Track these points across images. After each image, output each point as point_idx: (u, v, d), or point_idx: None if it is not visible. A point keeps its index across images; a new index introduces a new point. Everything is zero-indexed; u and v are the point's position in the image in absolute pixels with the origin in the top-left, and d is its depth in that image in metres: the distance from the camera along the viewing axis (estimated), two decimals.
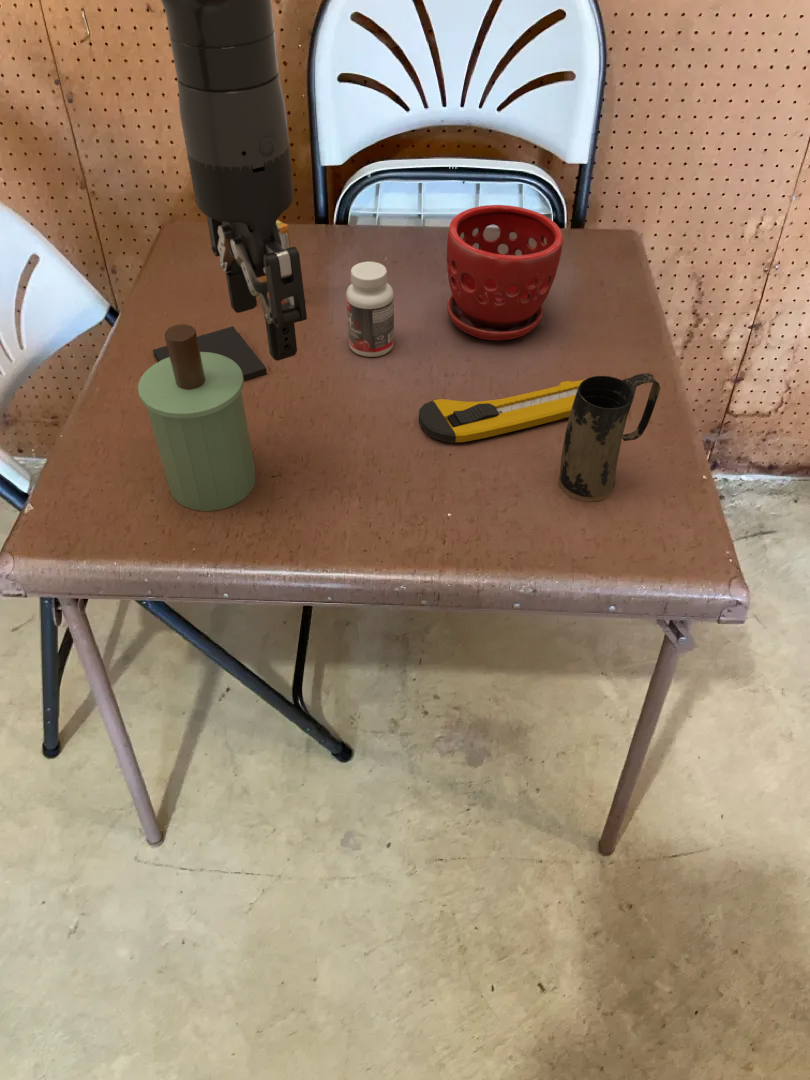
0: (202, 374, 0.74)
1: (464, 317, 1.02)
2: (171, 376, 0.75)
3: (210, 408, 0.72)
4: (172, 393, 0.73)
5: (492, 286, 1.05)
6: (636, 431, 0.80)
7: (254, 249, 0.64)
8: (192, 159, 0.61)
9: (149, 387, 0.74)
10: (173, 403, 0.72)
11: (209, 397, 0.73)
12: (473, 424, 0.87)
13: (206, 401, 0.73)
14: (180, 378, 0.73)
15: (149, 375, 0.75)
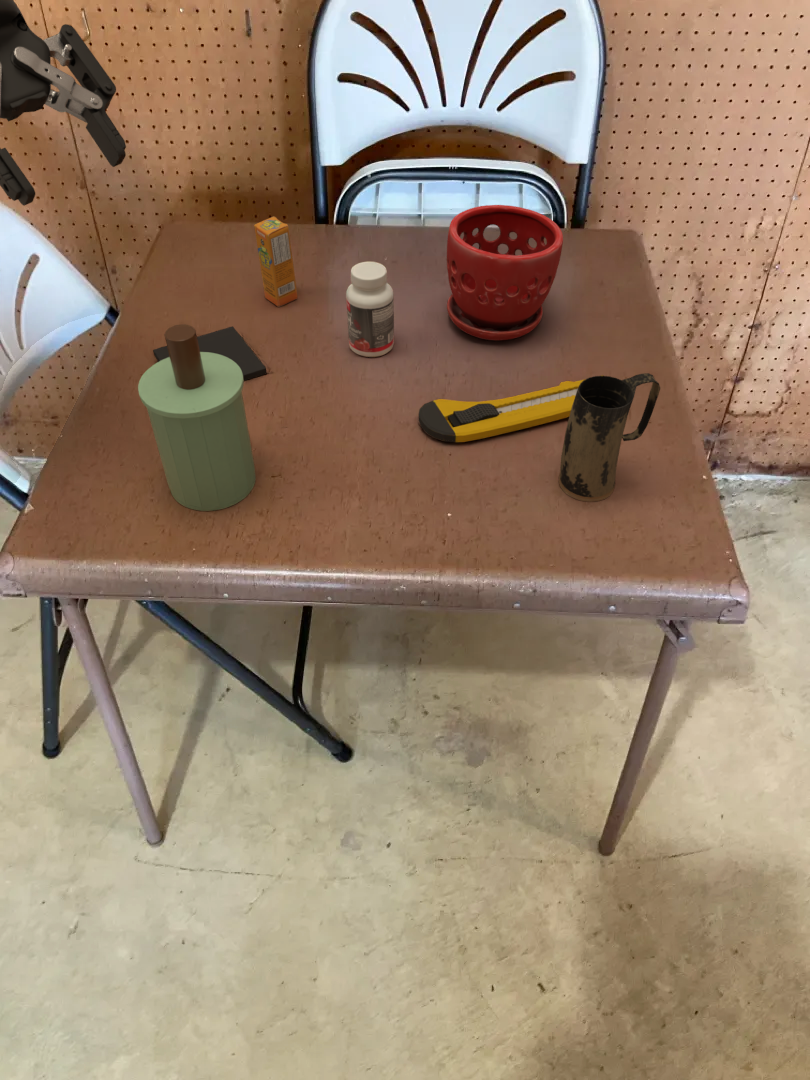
0: (202, 374, 0.74)
1: (464, 317, 1.02)
2: (171, 376, 0.75)
3: (210, 408, 0.72)
4: (172, 393, 0.73)
5: (492, 286, 1.05)
6: (636, 431, 0.80)
7: (41, 44, 0.66)
8: None
9: (149, 387, 0.74)
10: (173, 403, 0.72)
11: (209, 397, 0.73)
12: (473, 424, 0.87)
13: (206, 401, 0.73)
14: (180, 378, 0.73)
15: (149, 375, 0.75)
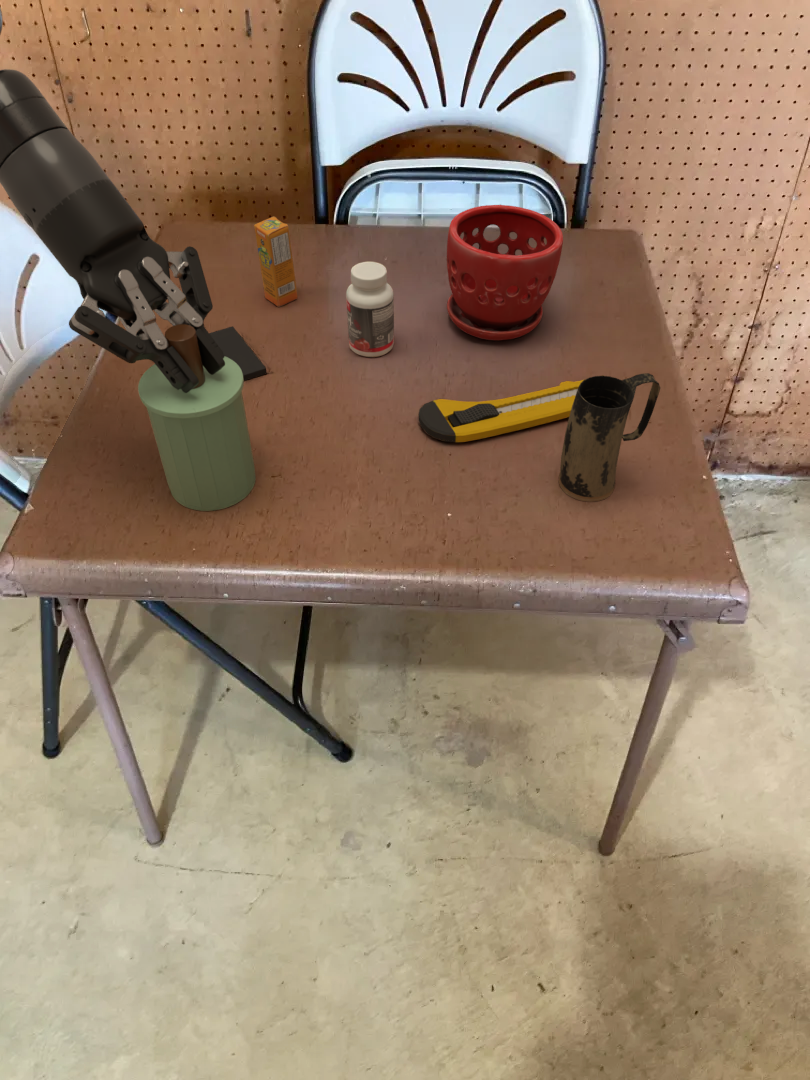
0: (202, 374, 0.74)
1: (464, 317, 1.02)
2: None
3: (210, 408, 0.72)
4: (172, 393, 0.73)
5: (492, 286, 1.05)
6: (636, 431, 0.80)
7: (161, 250, 0.72)
8: (93, 183, 0.66)
9: (149, 387, 0.74)
10: (173, 403, 0.72)
11: (209, 397, 0.73)
12: (473, 424, 0.87)
13: (206, 401, 0.73)
14: None
15: (149, 375, 0.75)
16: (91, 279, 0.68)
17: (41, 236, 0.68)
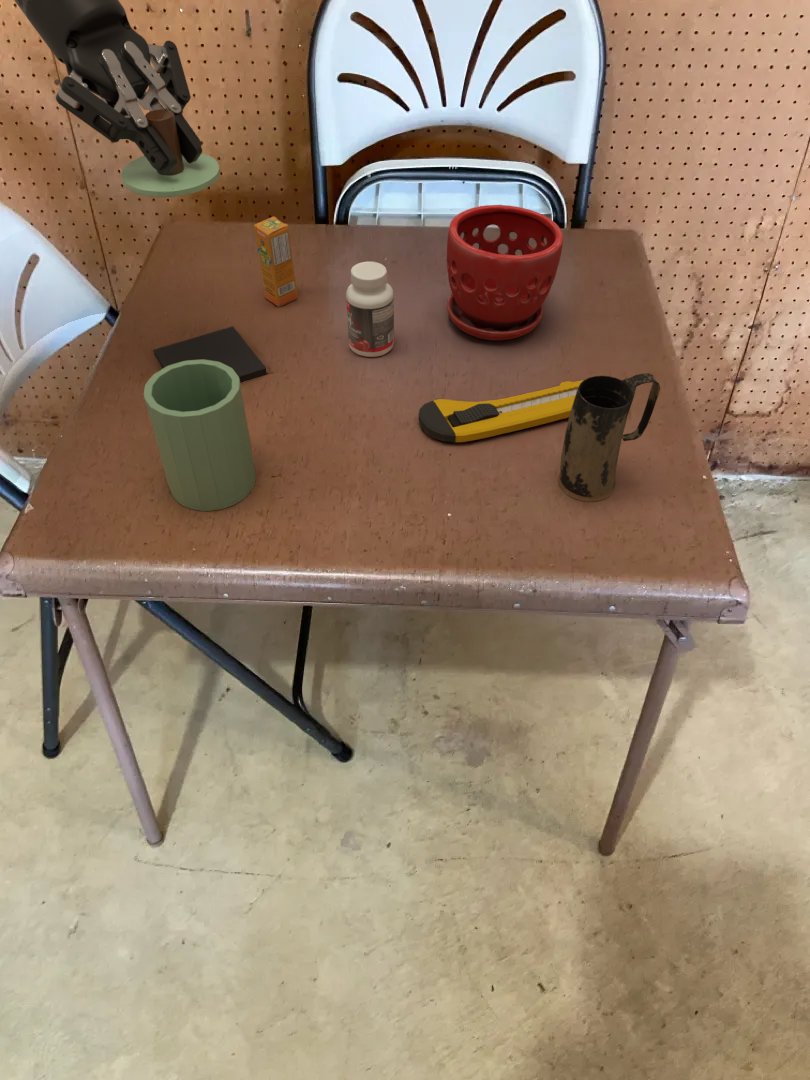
0: (181, 161, 0.79)
1: (464, 317, 1.02)
2: None
3: (188, 188, 0.78)
4: (153, 178, 0.79)
5: (492, 286, 1.05)
6: (636, 431, 0.80)
7: (142, 40, 0.77)
8: None
9: (132, 174, 0.79)
10: (153, 184, 0.78)
11: (187, 180, 0.79)
12: (473, 424, 0.87)
13: (184, 183, 0.78)
14: None
15: (132, 165, 0.81)
16: (76, 55, 0.73)
17: (30, 15, 0.73)
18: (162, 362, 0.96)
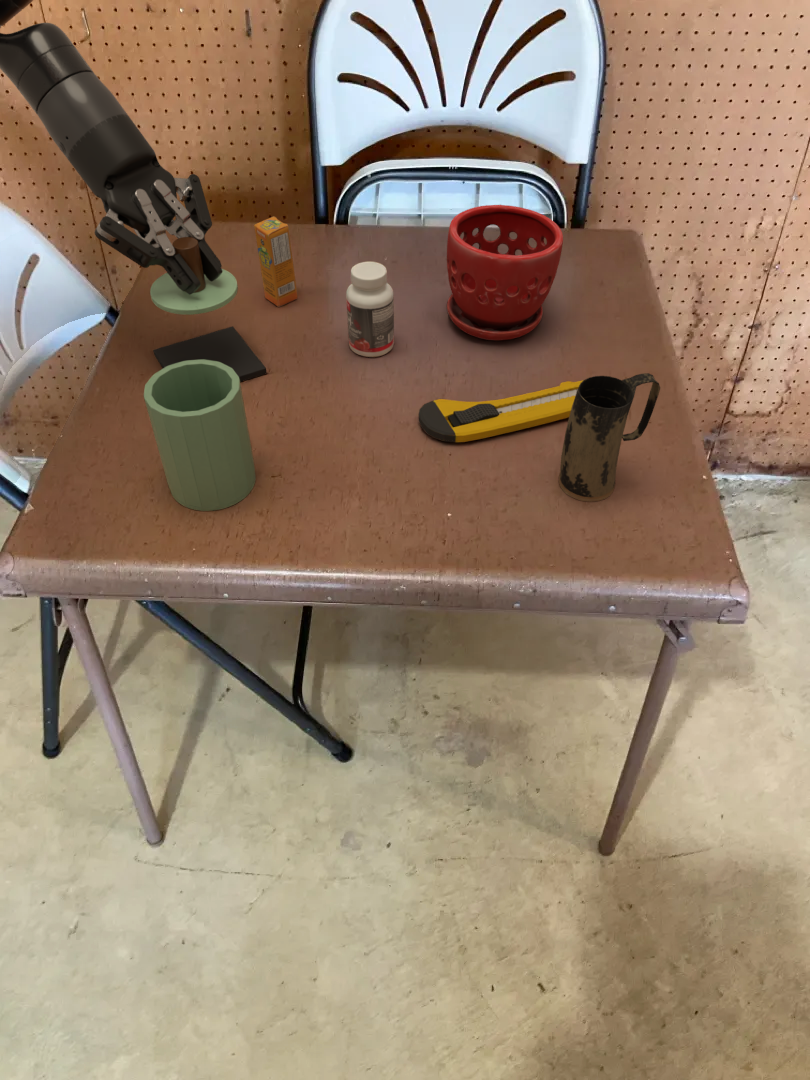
0: (203, 280, 0.89)
1: (464, 317, 1.02)
2: None
3: (210, 306, 0.87)
4: (178, 295, 0.89)
5: (492, 286, 1.05)
6: (636, 431, 0.80)
7: (169, 176, 0.87)
8: (114, 116, 0.82)
9: (160, 291, 0.89)
10: (179, 302, 0.88)
11: (209, 298, 0.88)
12: (473, 424, 0.87)
13: (206, 301, 0.88)
14: None
15: (159, 282, 0.91)
16: (113, 195, 0.83)
17: (72, 160, 0.83)
18: (162, 362, 0.96)
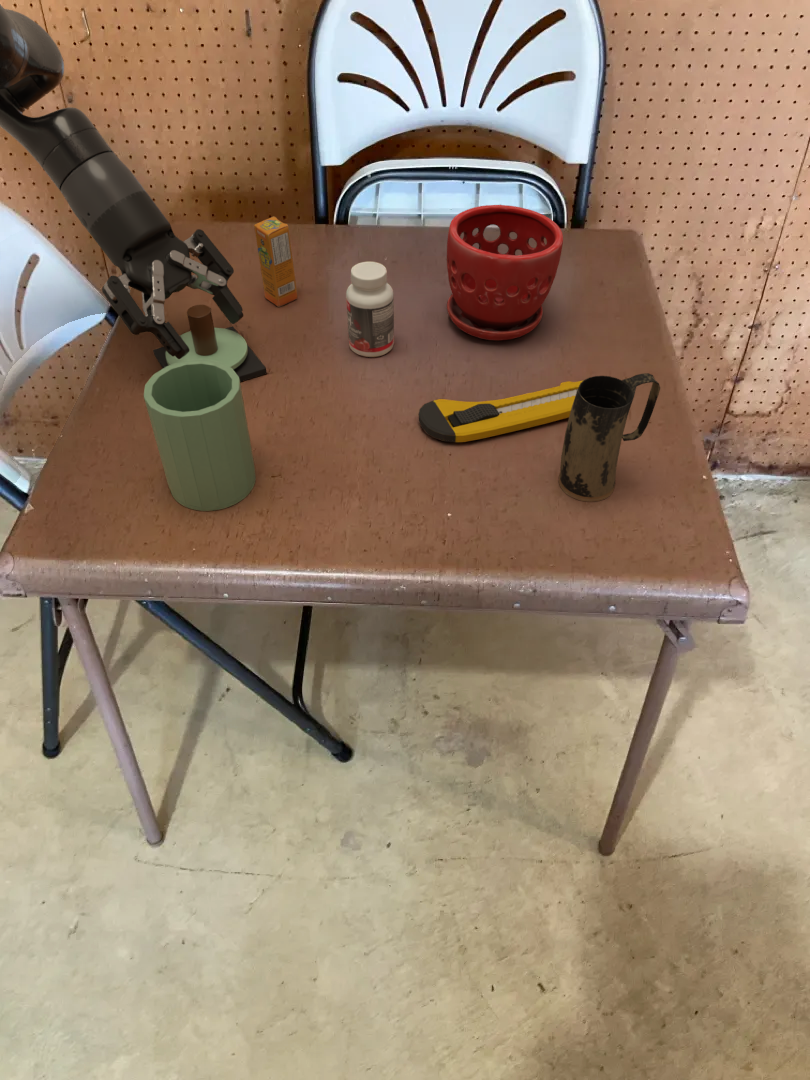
0: (215, 344, 0.95)
1: (464, 317, 1.02)
2: (191, 346, 0.96)
3: None
4: (192, 358, 0.95)
5: (492, 286, 1.05)
6: (636, 431, 0.80)
7: (183, 245, 0.93)
8: (133, 194, 0.87)
9: None
10: None
11: (221, 361, 0.94)
12: (473, 424, 0.87)
13: None
14: (198, 347, 0.94)
15: None
16: (133, 264, 0.89)
17: (93, 234, 0.89)
18: (162, 362, 0.96)
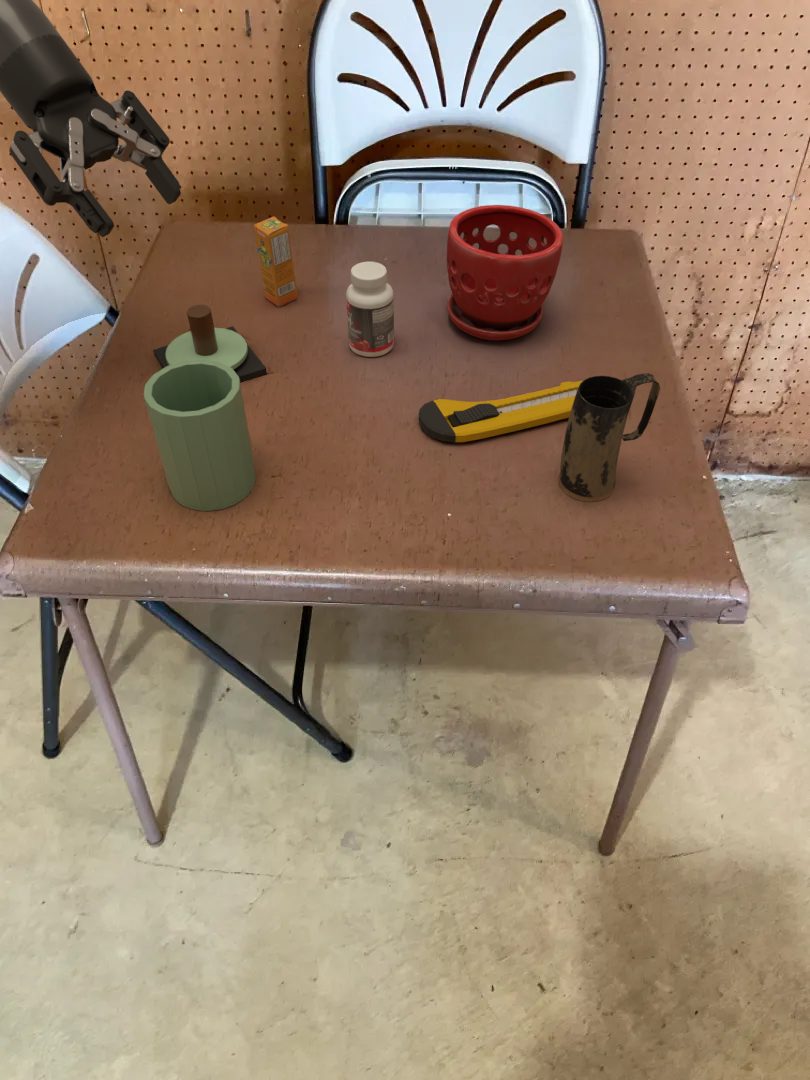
0: (215, 344, 0.95)
1: (464, 317, 1.02)
2: (191, 346, 0.96)
3: None
4: (192, 358, 0.95)
5: (492, 286, 1.05)
6: (636, 431, 0.80)
7: (109, 106, 0.80)
8: (45, 36, 0.74)
9: (174, 354, 0.95)
10: None
11: (221, 361, 0.94)
12: (473, 424, 0.87)
13: None
14: (198, 347, 0.94)
15: (174, 345, 0.96)
16: (46, 121, 0.76)
17: None
18: (162, 362, 0.96)
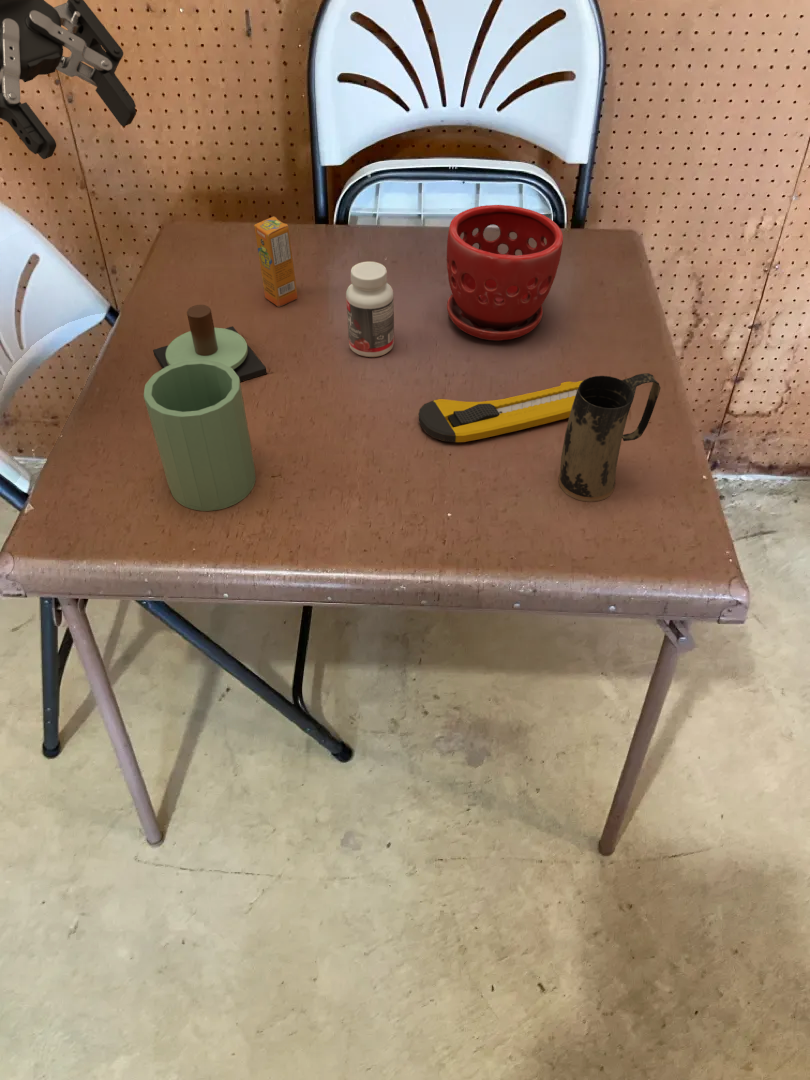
0: (215, 344, 0.95)
1: (464, 317, 1.02)
2: (191, 346, 0.96)
3: None
4: (192, 358, 0.95)
5: (492, 286, 1.05)
6: (636, 431, 0.80)
7: (52, 10, 0.70)
8: None
9: (174, 354, 0.95)
10: None
11: (221, 361, 0.94)
12: (473, 424, 0.87)
13: None
14: (198, 347, 0.94)
15: (174, 345, 0.96)
16: None
17: None
18: (162, 362, 0.96)
